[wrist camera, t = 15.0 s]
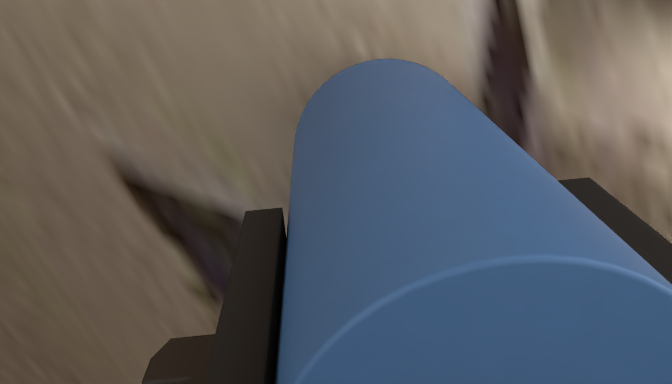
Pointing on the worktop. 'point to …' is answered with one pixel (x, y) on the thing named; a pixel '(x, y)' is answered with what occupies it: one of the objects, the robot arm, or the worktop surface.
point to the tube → (450, 252)
